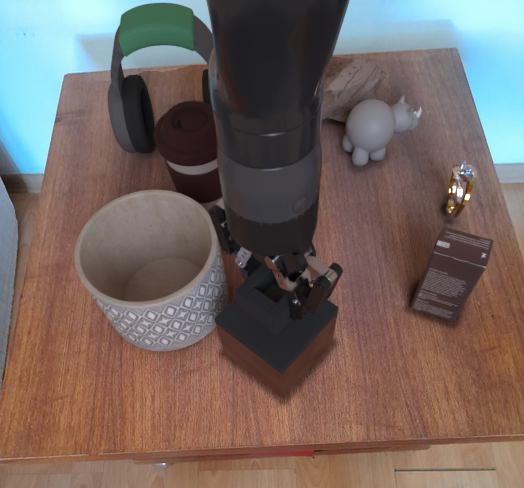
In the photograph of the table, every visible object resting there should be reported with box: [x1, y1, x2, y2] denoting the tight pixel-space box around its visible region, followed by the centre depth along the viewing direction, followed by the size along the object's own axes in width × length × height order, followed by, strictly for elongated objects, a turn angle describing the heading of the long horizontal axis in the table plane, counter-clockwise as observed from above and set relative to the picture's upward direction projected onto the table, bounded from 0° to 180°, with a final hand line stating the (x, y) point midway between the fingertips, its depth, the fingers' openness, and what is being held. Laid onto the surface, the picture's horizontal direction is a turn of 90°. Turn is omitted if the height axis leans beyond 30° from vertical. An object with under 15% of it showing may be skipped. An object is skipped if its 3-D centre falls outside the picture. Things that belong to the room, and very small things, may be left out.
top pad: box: [233, 264, 302, 335], centre depth 51 cm, size 6×6×3 cm
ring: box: [445, 159, 478, 219], centre depth 68 cm, size 7×3×8 cm, turn 168°
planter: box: [73, 189, 229, 352], centre depth 61 cm, size 16×16×13 cm
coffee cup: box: [154, 100, 223, 213], centre depth 67 cm, size 10×10×15 cm
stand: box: [216, 312, 339, 399], centre depth 59 cm, size 10×10×8 cm
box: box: [409, 225, 494, 323], centre depth 59 cm, size 6×4×12 cm
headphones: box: [107, 2, 214, 155], centre depth 71 cm, size 19×11×20 cm, turn 93°
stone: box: [322, 56, 388, 124], centre depth 78 cm, size 15×9×10 cm
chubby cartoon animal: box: [341, 94, 423, 167], centre depth 73 cm, size 7×12×8 cm, turn 107°
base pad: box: [215, 283, 339, 374], centre depth 54 cm, size 10×10×4 cm
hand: (275, 297), depth 52 cm, fingers closed on top pad, 5 cm apart
